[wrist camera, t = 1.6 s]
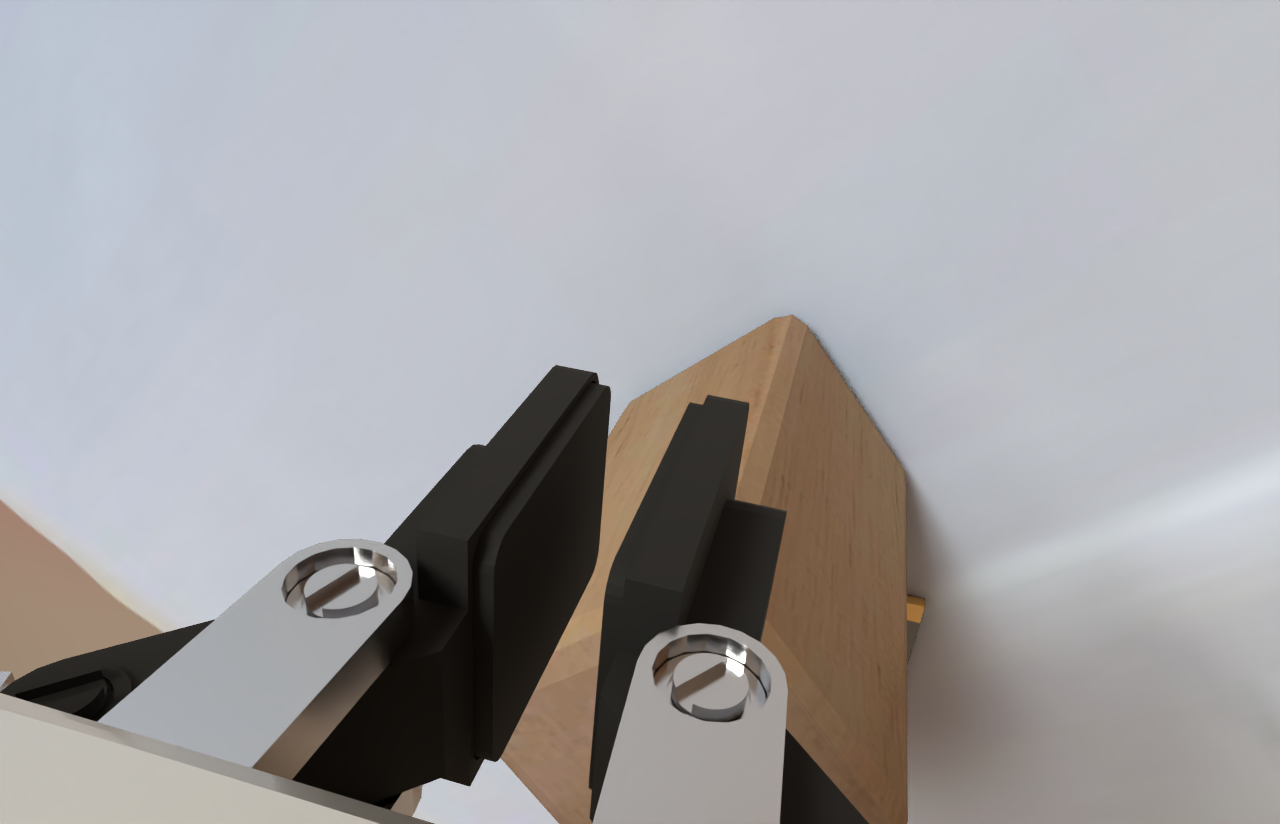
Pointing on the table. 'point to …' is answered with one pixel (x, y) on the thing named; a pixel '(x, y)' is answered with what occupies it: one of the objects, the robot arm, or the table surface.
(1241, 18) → the table surface
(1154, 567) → the table surface
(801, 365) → the block
